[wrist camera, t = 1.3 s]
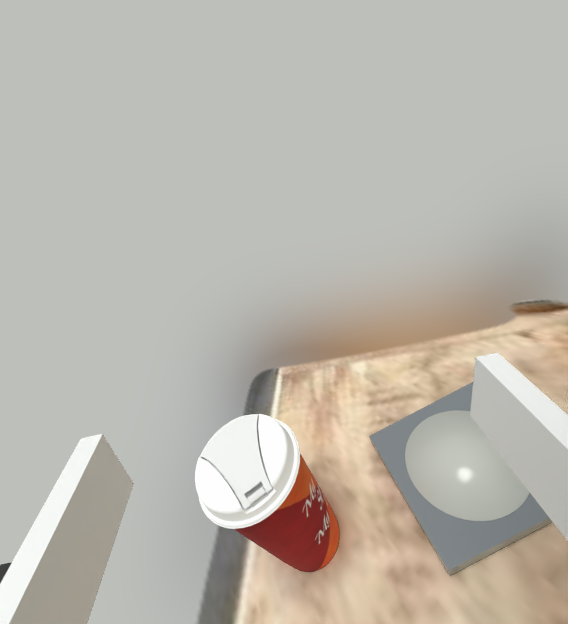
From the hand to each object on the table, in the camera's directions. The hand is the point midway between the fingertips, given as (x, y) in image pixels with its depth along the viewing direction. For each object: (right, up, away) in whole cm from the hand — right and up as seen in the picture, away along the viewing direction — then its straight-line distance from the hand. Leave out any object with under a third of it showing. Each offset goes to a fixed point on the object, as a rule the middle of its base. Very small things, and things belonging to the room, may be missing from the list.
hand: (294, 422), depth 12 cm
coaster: (+15, -10, +18) cm, 25 cm away
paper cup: (+2, -16, +19) cm, 25 cm away
